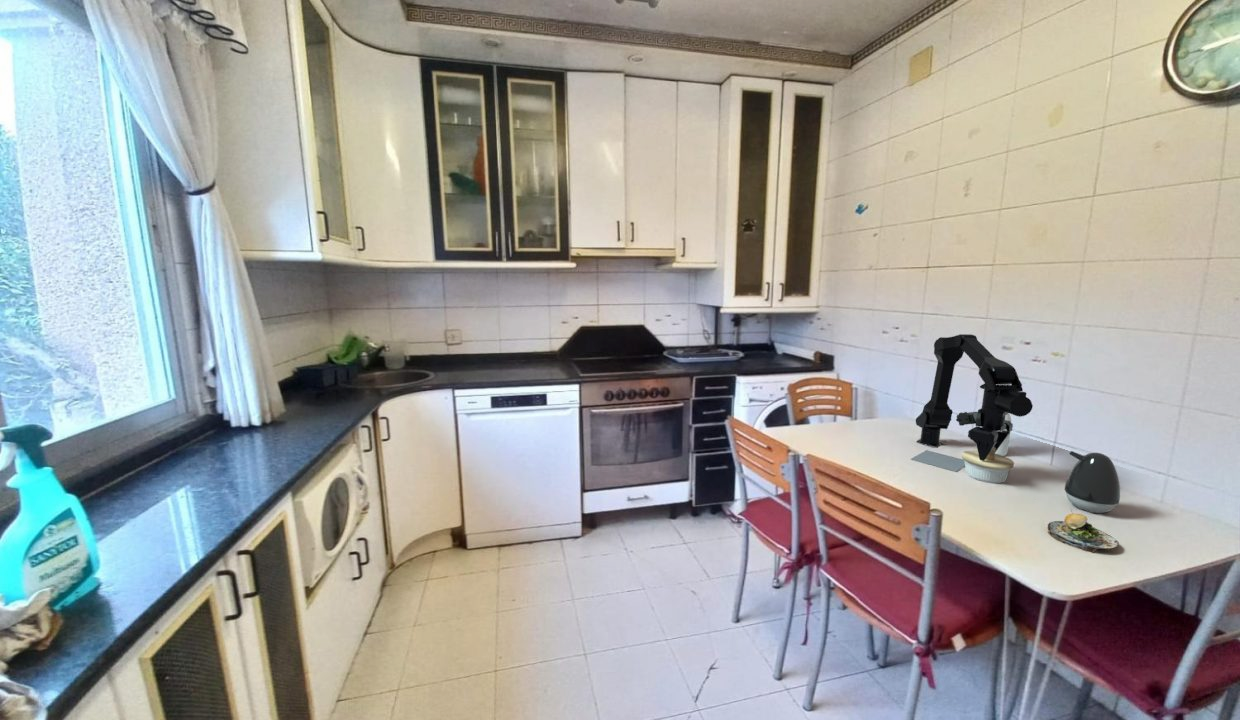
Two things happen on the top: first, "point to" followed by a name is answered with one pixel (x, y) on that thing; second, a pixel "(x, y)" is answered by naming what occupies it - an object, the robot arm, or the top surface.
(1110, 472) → the pump dispenser
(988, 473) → the ramekin
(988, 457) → the lid
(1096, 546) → the oval plate with food
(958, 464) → the mat
